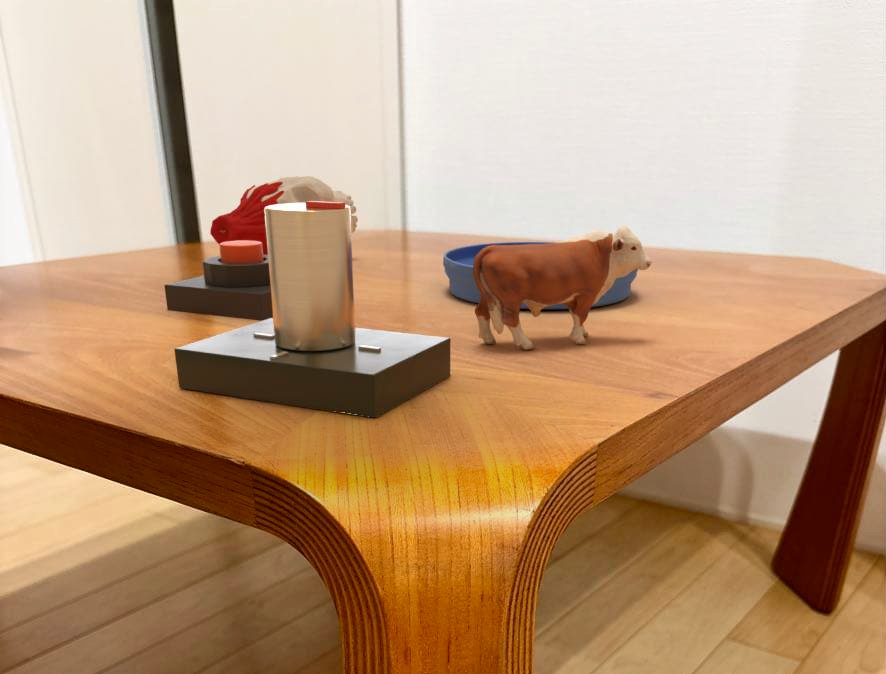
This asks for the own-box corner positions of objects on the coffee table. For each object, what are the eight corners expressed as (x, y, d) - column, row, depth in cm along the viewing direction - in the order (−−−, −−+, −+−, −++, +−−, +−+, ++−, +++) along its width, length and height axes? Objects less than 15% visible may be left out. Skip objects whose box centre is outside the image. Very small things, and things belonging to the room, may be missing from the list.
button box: (167, 310, 78) (161, 262, 77) (232, 293, 86) (228, 249, 84) (262, 321, 75) (258, 271, 73) (322, 302, 82) (319, 256, 80)
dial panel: (178, 388, 57) (173, 345, 56) (272, 353, 65) (269, 315, 64) (374, 418, 51) (373, 372, 50) (450, 376, 59) (450, 335, 58)
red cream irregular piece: (365, 254, 105) (247, 284, 98) (317, 243, 113) (205, 269, 106) (354, 171, 100) (229, 196, 93) (305, 165, 108) (187, 187, 101)
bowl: (407, 288, 88) (406, 250, 87) (553, 272, 97) (555, 237, 96) (519, 321, 75) (520, 277, 73) (677, 299, 83) (681, 259, 82)
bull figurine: (651, 343, 68) (662, 228, 64) (478, 354, 65) (480, 234, 61) (625, 330, 71) (635, 221, 68) (460, 340, 68) (462, 226, 65)
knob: (258, 346, 56) (246, 202, 52) (304, 330, 60) (295, 196, 56) (328, 355, 54) (320, 206, 50) (370, 337, 58) (365, 199, 54)
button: (212, 265, 78) (210, 244, 77) (238, 259, 81) (236, 239, 80) (247, 268, 76) (245, 246, 76) (272, 262, 79) (270, 241, 79)
